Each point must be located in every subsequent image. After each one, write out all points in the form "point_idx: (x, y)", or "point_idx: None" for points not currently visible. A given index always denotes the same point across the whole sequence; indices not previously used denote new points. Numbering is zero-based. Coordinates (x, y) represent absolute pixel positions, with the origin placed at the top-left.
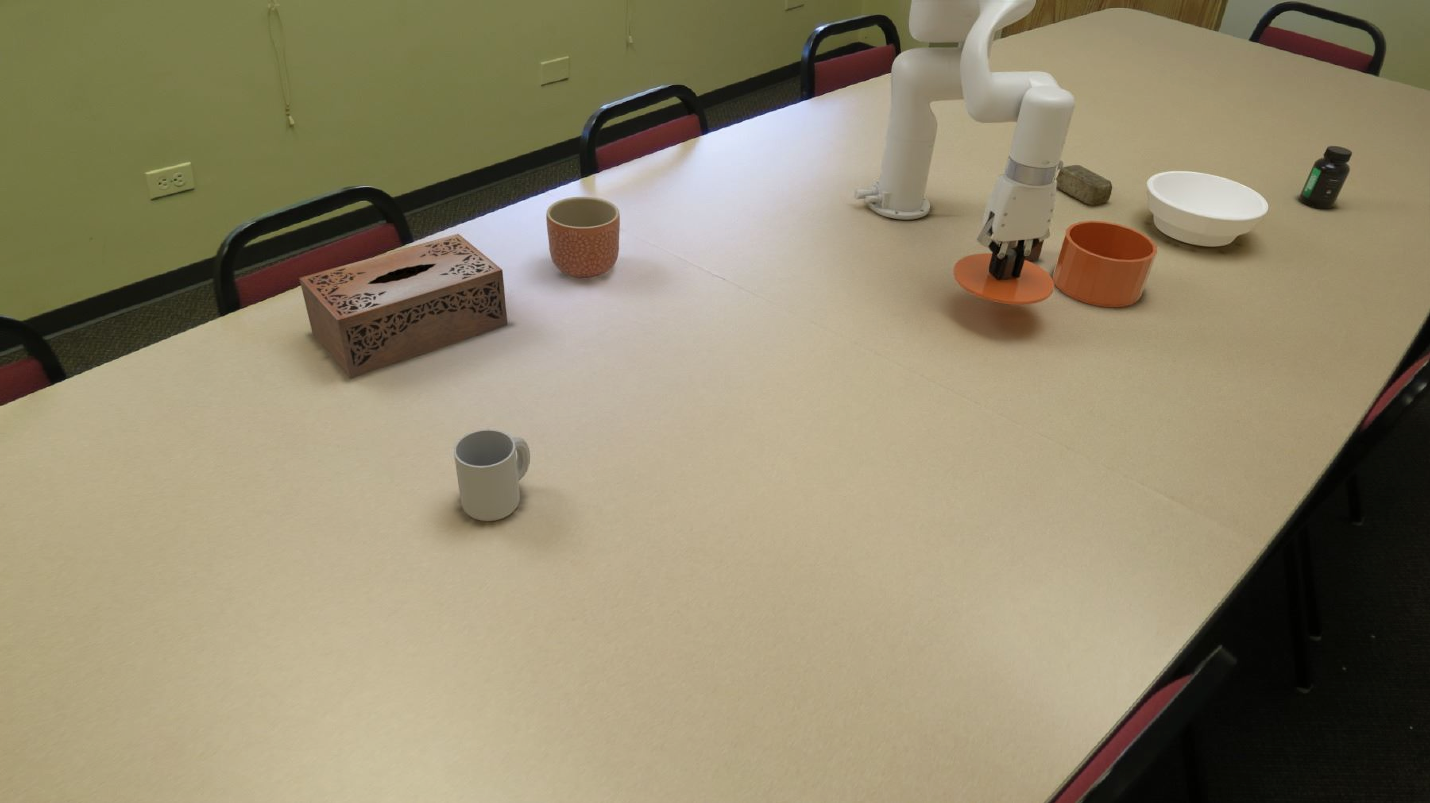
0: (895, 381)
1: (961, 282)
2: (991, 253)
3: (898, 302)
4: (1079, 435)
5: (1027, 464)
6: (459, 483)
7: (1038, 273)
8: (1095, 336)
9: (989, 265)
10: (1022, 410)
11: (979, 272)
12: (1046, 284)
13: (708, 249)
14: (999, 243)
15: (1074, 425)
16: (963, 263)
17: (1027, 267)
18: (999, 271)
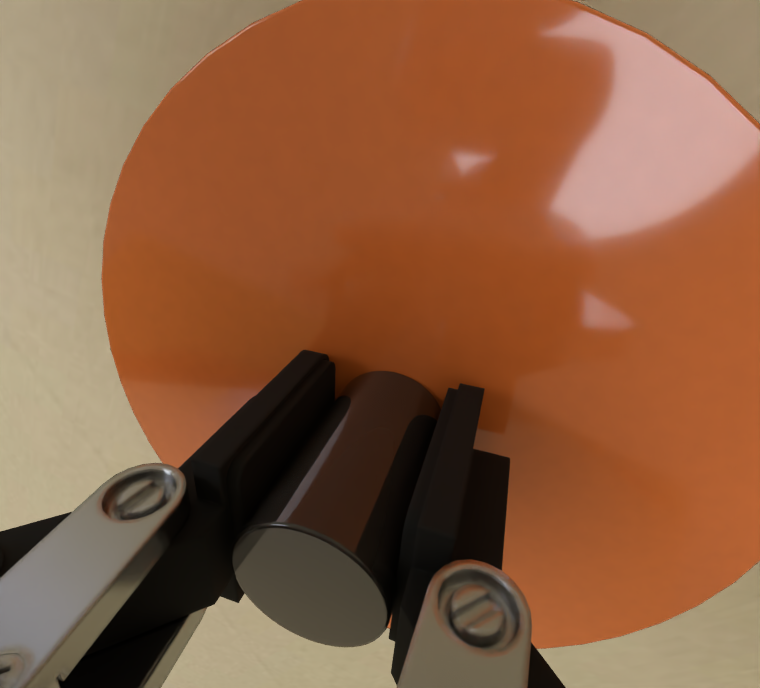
0: (43, 440)
1: (115, 363)
2: (578, 12)
3: (93, 69)
4: None
5: (205, 670)
6: None
7: (691, 506)
8: (738, 586)
9: (241, 408)
10: (259, 616)
11: (257, 312)
12: (601, 601)
13: None
14: (128, 593)
15: (333, 684)
16: (196, 148)
17: (698, 404)
18: None
